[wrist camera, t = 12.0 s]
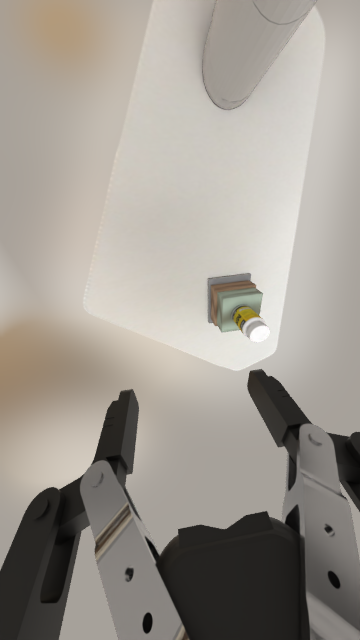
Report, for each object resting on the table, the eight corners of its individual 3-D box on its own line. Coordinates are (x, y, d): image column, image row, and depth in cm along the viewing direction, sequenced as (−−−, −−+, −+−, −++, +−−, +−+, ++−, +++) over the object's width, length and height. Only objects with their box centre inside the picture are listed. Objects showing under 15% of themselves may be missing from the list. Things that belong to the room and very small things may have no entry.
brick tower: (210, 285, 43) (220, 296, 36) (248, 280, 44) (265, 290, 37) (210, 318, 48) (219, 334, 41) (244, 313, 49) (258, 328, 42)
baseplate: (207, 278, 43) (208, 279, 42) (249, 273, 44) (250, 274, 43) (208, 321, 50) (209, 323, 49) (244, 316, 50) (245, 318, 49)
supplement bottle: (230, 306, 38) (248, 326, 30) (251, 302, 38) (273, 320, 30) (231, 324, 40) (247, 346, 33) (250, 319, 40) (271, 341, 33)
